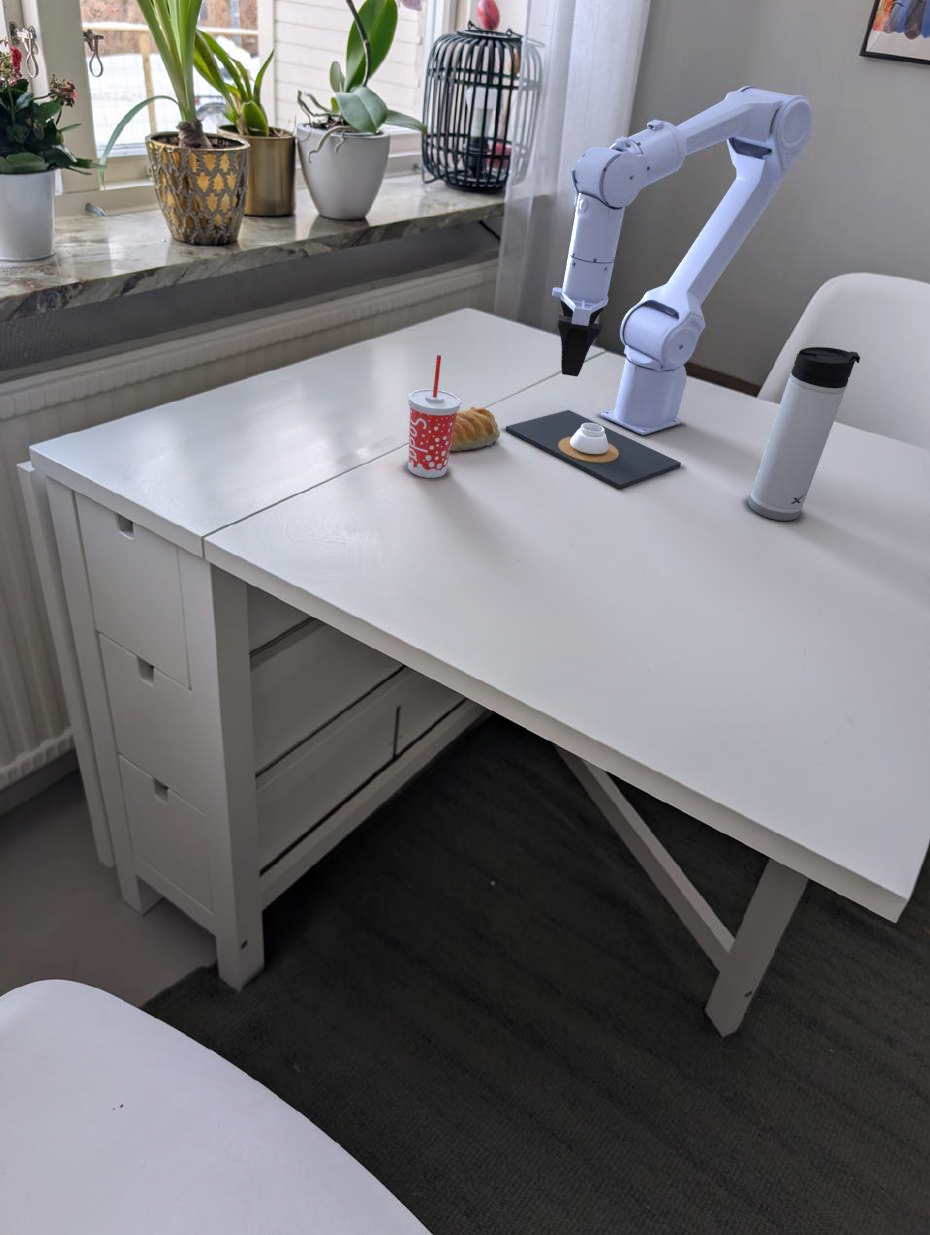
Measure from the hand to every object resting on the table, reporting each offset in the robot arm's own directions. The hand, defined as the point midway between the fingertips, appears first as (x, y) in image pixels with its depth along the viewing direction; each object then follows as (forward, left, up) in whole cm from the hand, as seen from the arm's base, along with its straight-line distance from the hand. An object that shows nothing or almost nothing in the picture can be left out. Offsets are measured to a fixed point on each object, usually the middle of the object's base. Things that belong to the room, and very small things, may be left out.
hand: (571, 365), depth 118 cm
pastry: (+14, -4, -10) cm, 17 cm away
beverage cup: (+24, 0, -10) cm, 26 cm away
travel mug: (-7, +30, -10) cm, 32 cm away
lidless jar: (+2, +7, -9) cm, 11 cm away
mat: (0, +6, -9) cm, 11 cm away
